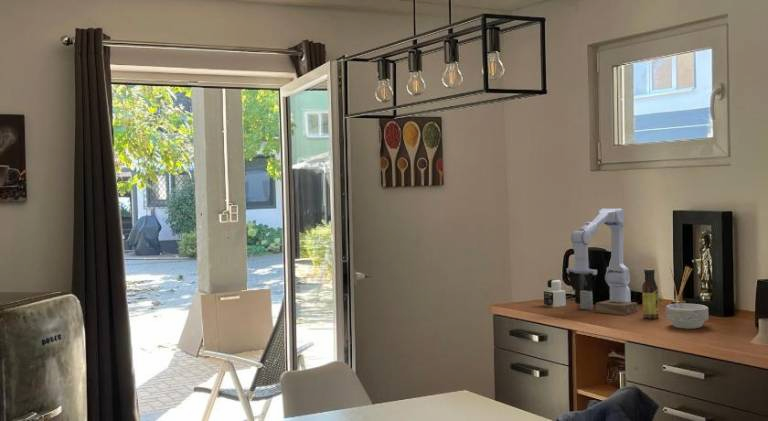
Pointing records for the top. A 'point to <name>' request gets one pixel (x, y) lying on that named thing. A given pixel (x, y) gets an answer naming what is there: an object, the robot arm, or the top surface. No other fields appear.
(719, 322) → the top surface
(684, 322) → the grey stone bowl
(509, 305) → the top surface
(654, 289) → the sauce bottle
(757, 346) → the top surface
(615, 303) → the brown wooden block
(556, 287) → the medicine bottle
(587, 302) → the rail bracket
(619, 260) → the robot arm
